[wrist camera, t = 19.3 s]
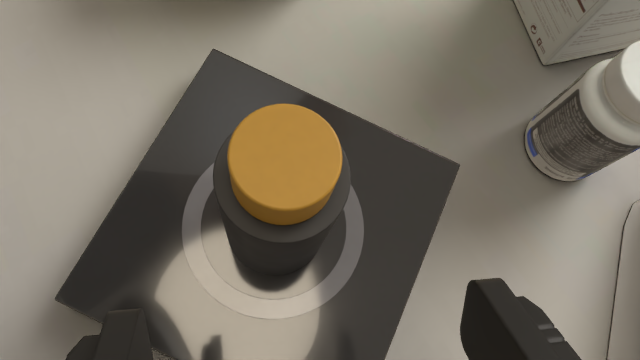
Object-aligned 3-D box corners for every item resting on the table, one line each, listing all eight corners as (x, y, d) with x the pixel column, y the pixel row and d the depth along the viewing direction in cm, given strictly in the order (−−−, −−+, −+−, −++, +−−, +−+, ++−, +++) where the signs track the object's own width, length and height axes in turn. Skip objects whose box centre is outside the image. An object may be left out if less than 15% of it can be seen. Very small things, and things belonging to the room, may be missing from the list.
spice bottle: (249, 292, 24) (243, 256, 15) (211, 202, 25) (183, 116, 16) (339, 251, 25) (387, 193, 16) (299, 166, 26) (322, 66, 17)
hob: (68, 303, 25) (51, 299, 23) (215, 66, 30) (212, 46, 28) (344, 439, 25) (351, 447, 23) (448, 176, 30) (461, 163, 28)
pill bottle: (589, 194, 30) (707, 139, 22) (514, 165, 30) (606, 100, 22) (602, 126, 32) (716, 53, 24) (531, 99, 32) (622, 16, 24)
